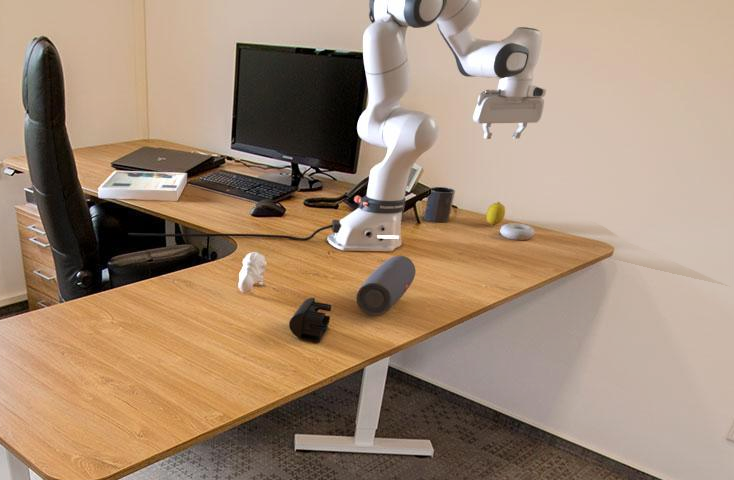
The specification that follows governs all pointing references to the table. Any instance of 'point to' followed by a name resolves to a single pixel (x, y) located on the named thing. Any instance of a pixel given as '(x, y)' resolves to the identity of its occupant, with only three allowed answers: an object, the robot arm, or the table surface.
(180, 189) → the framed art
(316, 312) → the end cap
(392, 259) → the bluetooth speaker
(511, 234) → the donut
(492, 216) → the lemon
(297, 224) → the table surface
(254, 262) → the white figurine
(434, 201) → the pen cup
